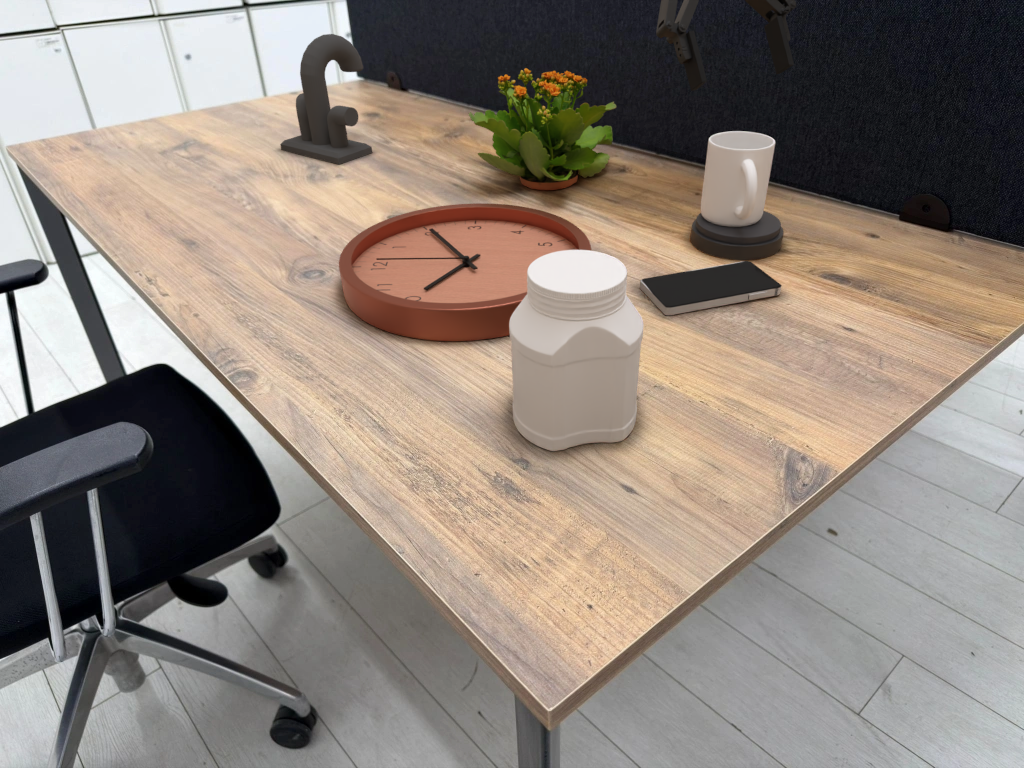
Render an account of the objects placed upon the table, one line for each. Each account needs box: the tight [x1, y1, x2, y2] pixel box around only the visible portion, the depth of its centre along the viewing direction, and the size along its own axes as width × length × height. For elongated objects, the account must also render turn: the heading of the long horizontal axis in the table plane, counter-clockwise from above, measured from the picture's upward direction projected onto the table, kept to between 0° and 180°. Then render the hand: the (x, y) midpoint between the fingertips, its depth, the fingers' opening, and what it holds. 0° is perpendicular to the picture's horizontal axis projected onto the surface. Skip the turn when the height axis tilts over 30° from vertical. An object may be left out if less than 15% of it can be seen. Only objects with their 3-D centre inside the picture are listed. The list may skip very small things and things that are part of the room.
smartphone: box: [639, 260, 783, 316], centre depth 87 cm, size 8×1×15 cm
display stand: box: [689, 210, 784, 261], centre depth 98 cm, size 12×12×3 cm
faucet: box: [279, 33, 373, 165], centre depth 136 cm, size 18×16×20 cm
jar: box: [509, 250, 644, 452], centre depth 64 cm, size 12×10×15 cm
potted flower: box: [468, 67, 617, 191], centre depth 116 cm, size 25×24×18 cm
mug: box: [700, 130, 776, 227], centre depth 94 cm, size 12×8×10 cm
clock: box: [338, 202, 592, 342], centre depth 91 cm, size 31×4×31 cm
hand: (743, 78), depth 94 cm, fingers open, 13 cm apart
